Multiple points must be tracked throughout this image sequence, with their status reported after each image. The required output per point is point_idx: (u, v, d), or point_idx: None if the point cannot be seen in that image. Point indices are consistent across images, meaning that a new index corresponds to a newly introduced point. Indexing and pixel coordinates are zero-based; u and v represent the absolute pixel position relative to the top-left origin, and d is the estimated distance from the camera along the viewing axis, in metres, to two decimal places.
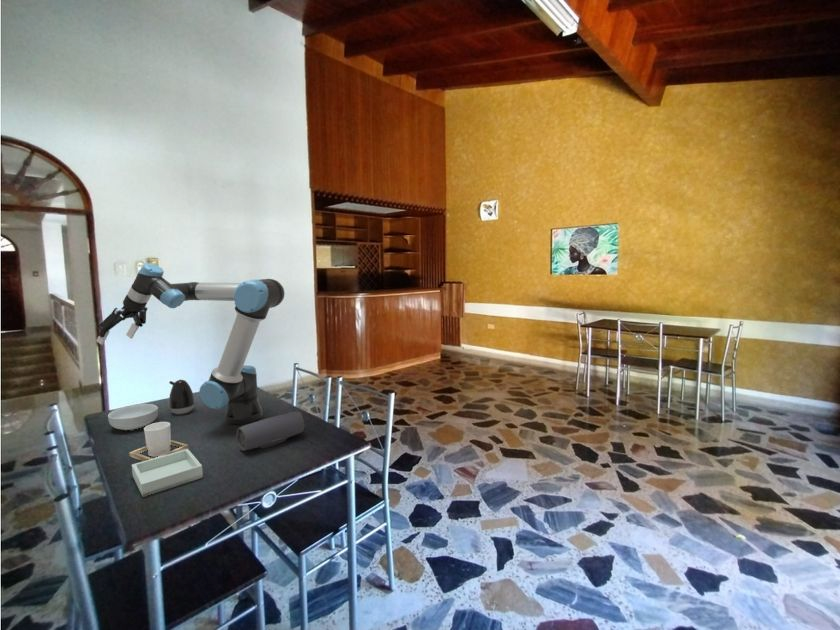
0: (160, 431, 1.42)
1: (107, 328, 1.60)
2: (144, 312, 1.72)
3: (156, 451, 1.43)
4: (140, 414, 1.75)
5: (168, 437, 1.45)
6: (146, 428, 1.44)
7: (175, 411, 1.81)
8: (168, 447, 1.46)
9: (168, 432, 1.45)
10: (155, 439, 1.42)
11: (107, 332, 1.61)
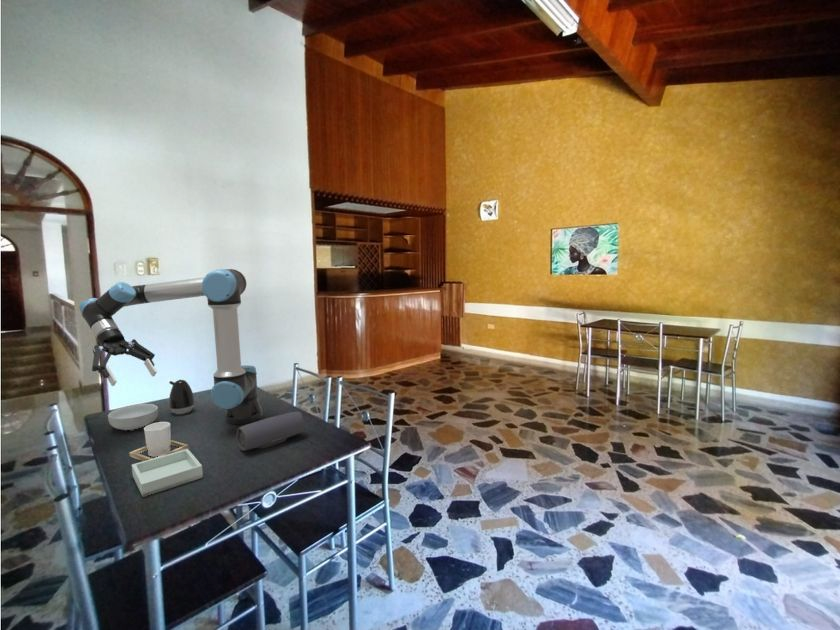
0: (160, 432, 1.42)
1: None
2: (136, 344, 1.56)
3: (156, 451, 1.43)
4: (140, 414, 1.75)
5: (168, 437, 1.45)
6: (146, 428, 1.44)
7: (175, 411, 1.81)
8: (168, 447, 1.46)
9: (168, 432, 1.45)
10: (155, 439, 1.42)
11: (106, 368, 1.42)
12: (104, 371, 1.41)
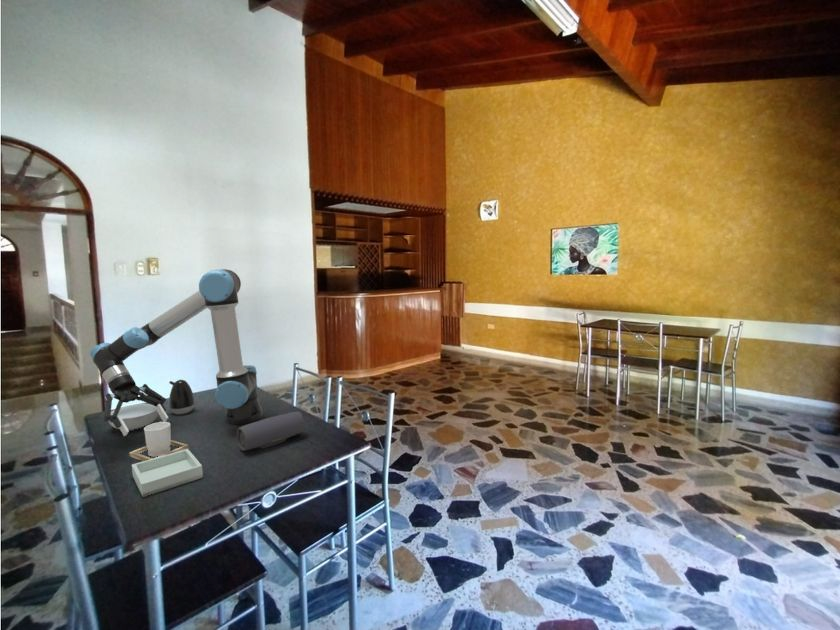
0: (160, 432, 1.42)
1: (113, 414, 1.41)
2: (147, 389, 1.54)
3: (156, 451, 1.43)
4: (140, 414, 1.75)
5: (168, 437, 1.45)
6: (146, 428, 1.44)
7: (175, 411, 1.81)
8: (168, 447, 1.46)
9: (168, 432, 1.45)
10: (155, 439, 1.42)
11: (118, 417, 1.41)
12: (116, 421, 1.40)
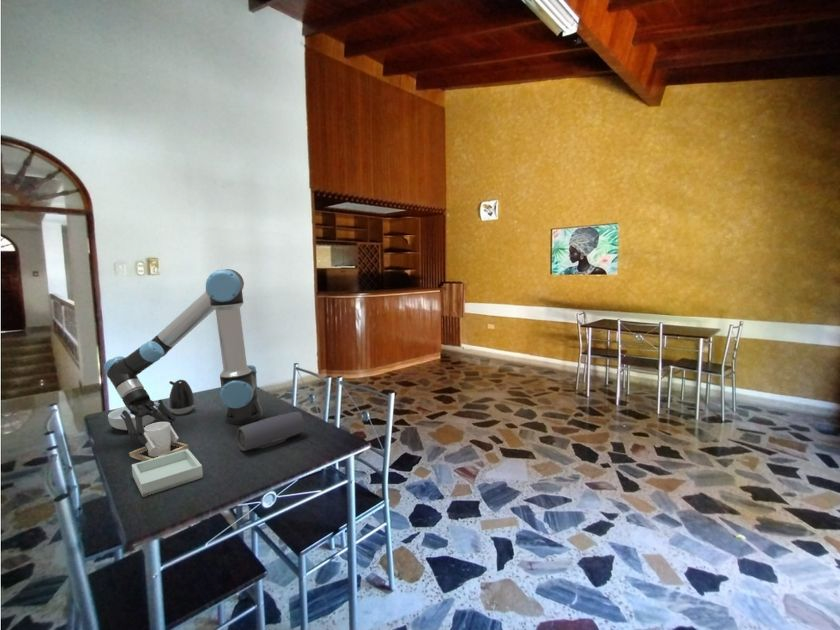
0: (160, 431, 1.42)
1: (139, 430, 1.41)
2: (161, 405, 1.52)
3: (156, 451, 1.43)
4: None
5: (168, 437, 1.45)
6: (146, 428, 1.44)
7: (175, 411, 1.81)
8: (168, 447, 1.46)
9: (168, 432, 1.45)
10: (155, 439, 1.42)
11: (144, 434, 1.41)
12: (142, 437, 1.40)
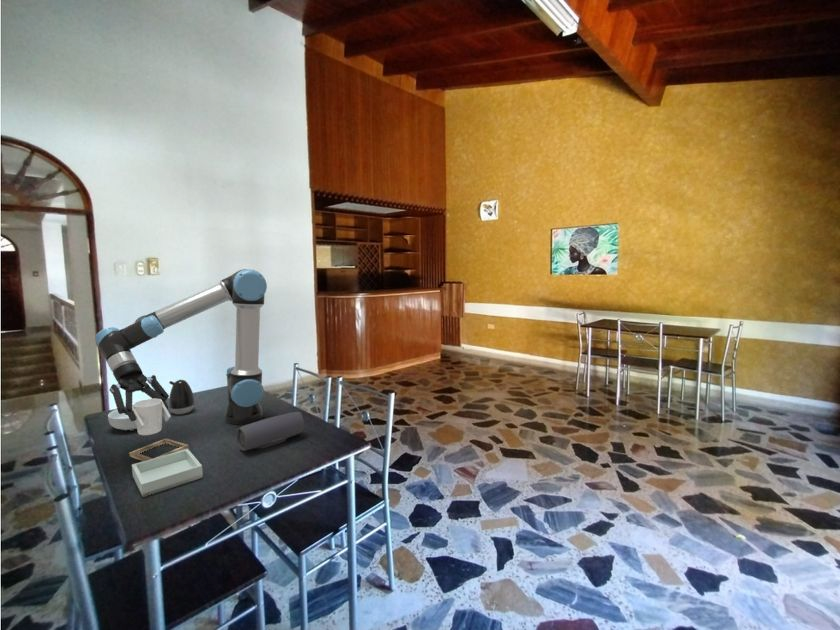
0: (150, 408, 1.33)
1: (128, 406, 1.31)
2: (154, 380, 1.42)
3: (146, 430, 1.33)
4: None
5: (159, 415, 1.35)
6: (136, 404, 1.35)
7: (175, 411, 1.81)
8: (159, 425, 1.36)
9: (159, 409, 1.35)
10: (145, 416, 1.32)
11: (133, 410, 1.31)
12: (131, 414, 1.31)
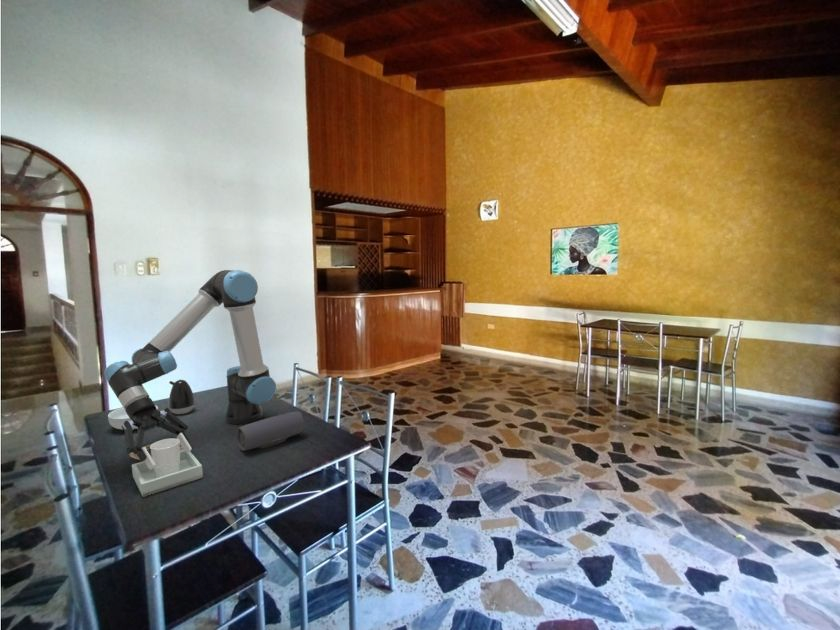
0: (169, 450, 1.26)
1: (137, 445, 1.23)
2: (169, 413, 1.36)
3: (164, 473, 1.26)
4: None
5: (177, 456, 1.29)
6: (152, 446, 1.28)
7: (175, 411, 1.81)
8: (177, 467, 1.29)
9: (177, 450, 1.29)
10: (163, 458, 1.25)
11: (142, 449, 1.23)
12: (141, 453, 1.22)
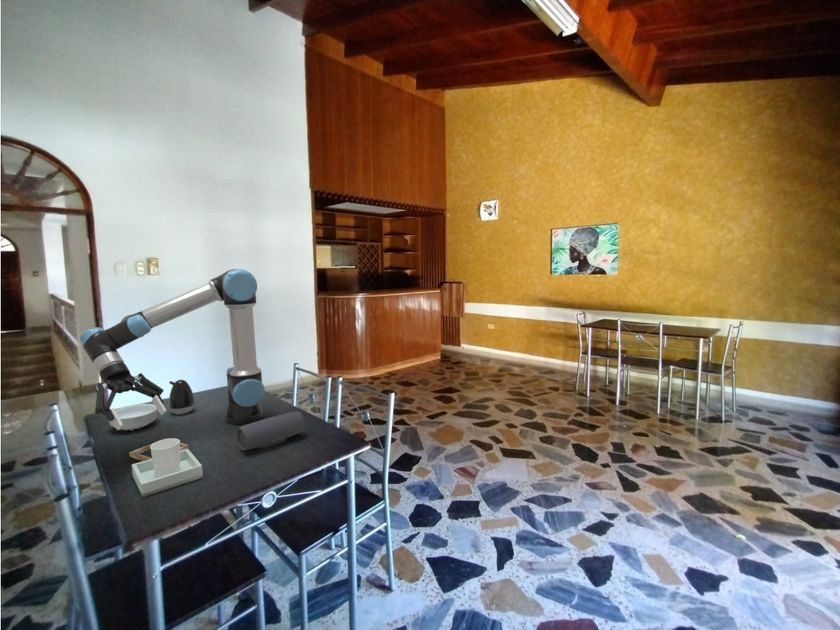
0: (169, 450, 1.26)
1: (105, 406, 1.27)
2: (143, 378, 1.41)
3: (164, 473, 1.26)
4: (140, 414, 1.75)
5: (177, 456, 1.29)
6: (153, 446, 1.28)
7: (175, 411, 1.81)
8: (177, 467, 1.29)
9: (177, 450, 1.29)
10: (163, 459, 1.25)
11: (110, 409, 1.27)
12: (109, 413, 1.27)
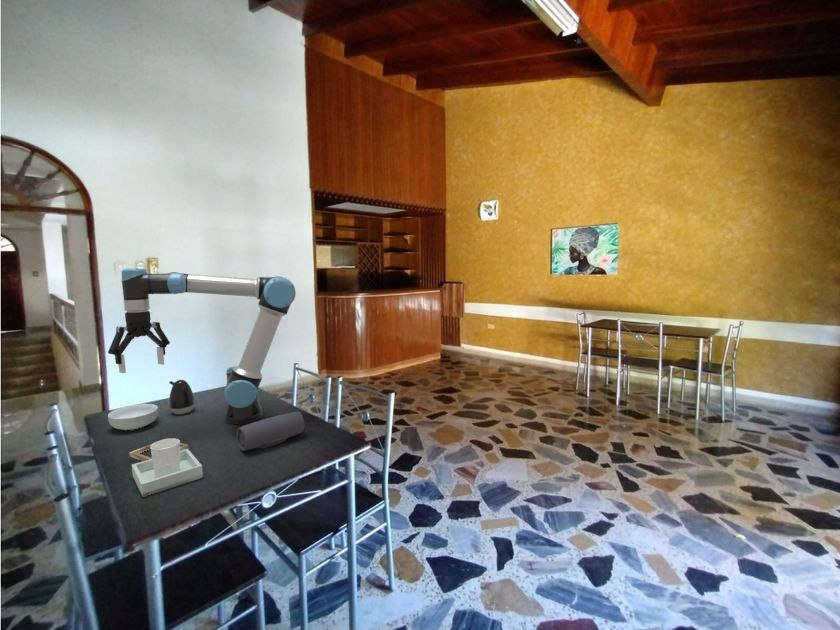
0: (169, 450, 1.26)
1: (118, 351, 1.42)
2: (158, 328, 1.54)
3: (164, 473, 1.26)
4: (140, 414, 1.75)
5: (177, 456, 1.29)
6: (153, 446, 1.28)
7: (175, 411, 1.81)
8: (177, 467, 1.29)
9: (177, 450, 1.29)
10: (163, 459, 1.25)
11: (121, 356, 1.43)
12: (118, 359, 1.43)
